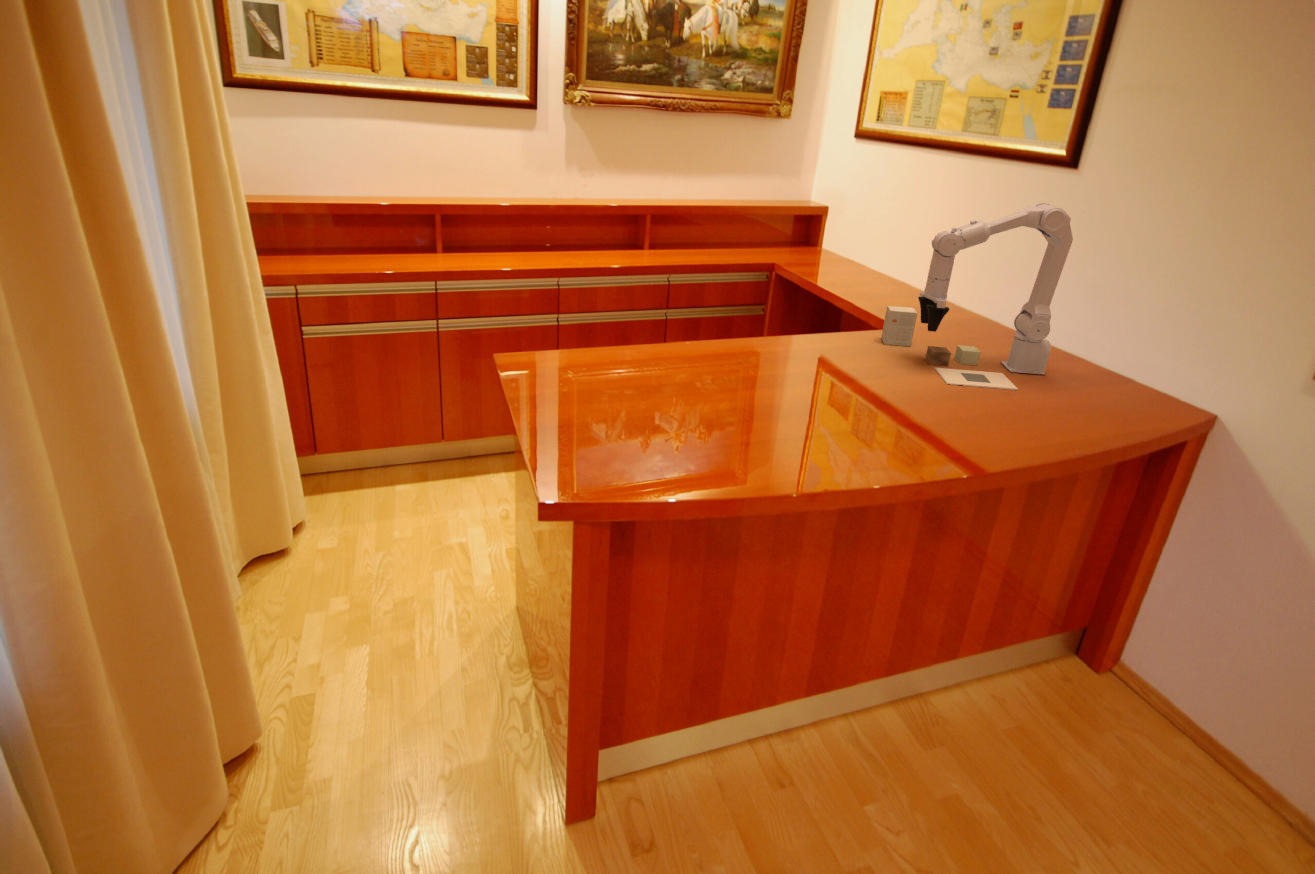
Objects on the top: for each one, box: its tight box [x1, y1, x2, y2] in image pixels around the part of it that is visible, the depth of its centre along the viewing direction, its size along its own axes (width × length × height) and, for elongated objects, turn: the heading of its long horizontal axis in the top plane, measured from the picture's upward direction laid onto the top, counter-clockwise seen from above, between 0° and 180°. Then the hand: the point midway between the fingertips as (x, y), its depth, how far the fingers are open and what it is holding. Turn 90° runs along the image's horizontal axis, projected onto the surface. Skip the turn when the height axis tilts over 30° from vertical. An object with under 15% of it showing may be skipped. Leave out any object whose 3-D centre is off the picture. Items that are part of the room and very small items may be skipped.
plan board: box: [934, 367, 1019, 391], centre depth 198 cm, size 18×12×1 cm, turn 86°
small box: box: [880, 305, 918, 347], centre depth 222 cm, size 8×6×10 cm
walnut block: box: [924, 345, 952, 367], centre depth 208 cm, size 5×5×4 cm
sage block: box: [954, 344, 982, 366], centre depth 211 cm, size 5×5×4 cm
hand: (928, 327), depth 205 cm, fingers open, 7 cm apart
